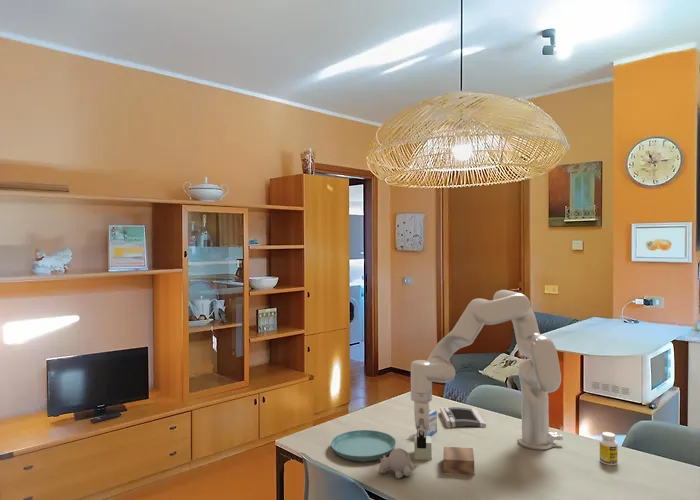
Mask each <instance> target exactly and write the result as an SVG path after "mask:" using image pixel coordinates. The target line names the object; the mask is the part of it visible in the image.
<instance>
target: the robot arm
mask: <svg viewBox="0 0 700 500" xmlns="http://www.w3.org/2000/svg"><path fill="white" fill-rule="evenodd" d="M464 309H465V310H464V311H463V312H462V314H461V315H460V317H459V319H458V321H457V322H456V324H455V325H454V327H453V328H452V330H450V332H448V333H447V334H446V335H444V337H443V338H441V339H440V340H439V341H437V342H438V343H436V345H434V348H433V349H432V350H431V351H430V354H429V356H428V358H427V359H426V360H425V359H417V360H413V361H412V362H411V363H410V400H411V401H412V402H413V406H414V407H413V408H414V410H413V411H414V412H413V413H414V423H415V429H416V436H417V448H423V449H426V437H425V436H426V430H429V409H430V402H431V401H433V382H434V383H445V384H446V383H450V382H451V381H453V380H454V379H455V376H456V369H455V367H454V365H453V364H452V363H450V362H449V360H450V359H451V357H452V356H453V354H455V353H456V352H457V351H458V350H460V349H462V348H465V347H469V346H470V345H472V344H473V343H474V342H475V339H477V336H479V333H480V332H481V330H482V329H483V327H484V326H485V325H487V326H491V325H493V326H494V325H497V324H498V325H499V324H502V323H505V322H509V321H511V323H512V325H513V330H514V331H513V332H514V336H515V341H516V346H517V350H518V352H519V354H521V355H522V356H524V357H525V358H527V359H524V360H523V361H522V362H521V363H520V365H519V367H518V378H519V383H520V384H519V385H520V391H521V397H520V398H521V434H520V435H519V436H518V437H517V442H518V443H519V445H521V446H523V447H524V448H527V449H531V450H538V451H539V450H540V451H542V450H548V449H551V448H553V447H554V446H555V445H554V441H555V440H556V441H563V439H564V438H563V435H562V434H558V432H550V423H549V422H550V421H549V419H550V417H549V412H550V411H549V393H554V392H556V391H557V390H558V389H559V388H560V386H561V383H562V373H561V372H562V371H561V366H560V365H561V364H560V362H559V361H560V360H559V357H558V356H559V355H558V350H557V347H556V345H555V343H554V342H553V341H552V339H550V338H548V337H547V336H544V335H542V334H541V333H540V329H539V326H538V321H537V317H536V315H535V312H534V310H533V309H532V307H531V301H530V299H529V298H528V297H527V296H526V295H525V294H523V293H521V292H517V291H513V290H508V289H500V290H498V291H496V292H495V293H494V294H493V297H492V299H491V300H488V299H485V298H480V297H479V298H474V299H472V300H471V301H469V303H468V304H467V306H466V308H464Z"/></svg>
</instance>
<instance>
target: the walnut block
mask: <svg viewBox="0 0 700 500" xmlns="http://www.w3.org/2000/svg"><path fill="white" fill-rule="evenodd" d="M475 473H476V472H475V454H474V448H473V447H461V446H460V447H457V446H455V447H454V446H443V474H447V475H449V474H452V475H464V476H465V475H467V476H475Z"/></svg>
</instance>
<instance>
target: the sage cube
mask: <svg viewBox="0 0 700 500" xmlns="http://www.w3.org/2000/svg"><path fill="white" fill-rule="evenodd" d="M425 437H426V449H423V448H417V435H414V438H413V439H414V441H413V443H414V447H413V448H414V450H413V451H414V460H429V461H430V460H431V461H432V460H433V459H432V457H433V454H432V453H433V452H432V435H431V436H425Z"/></svg>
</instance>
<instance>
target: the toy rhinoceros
mask: <svg viewBox="0 0 700 500" xmlns="http://www.w3.org/2000/svg"><path fill="white" fill-rule="evenodd" d="M379 460H380V464H379V463H378V462H377V463H376V464H377V465H376V466H377V467H378V470H379V472H380V473H381V474H386V473H387V471H390V470H391V469H392V470H393V471H394V474H395V477H396V479H401V478H403V477H408V476H410V475H411V474H412V473H413V472H412V471H413V470H414V469H415V465H414V464H413V462H412V461H411V457H410V454H409V453H408V451H406V449H403V448H394V449H393V450H392V451H391V452H390V453H389V454H388V456H385V455H383V458H380V459H379Z"/></svg>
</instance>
